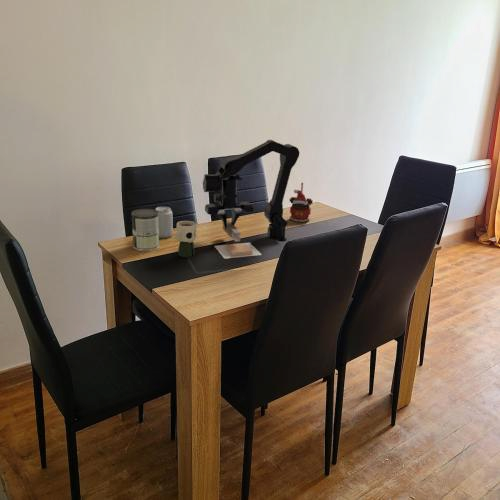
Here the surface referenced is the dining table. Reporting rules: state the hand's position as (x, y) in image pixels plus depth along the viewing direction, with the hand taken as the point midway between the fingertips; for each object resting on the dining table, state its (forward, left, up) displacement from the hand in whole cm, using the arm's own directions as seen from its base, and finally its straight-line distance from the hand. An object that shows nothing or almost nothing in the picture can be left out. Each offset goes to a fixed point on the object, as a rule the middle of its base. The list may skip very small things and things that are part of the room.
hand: (228, 228), depth 206 cm
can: (+24, -14, -6) cm, 29 cm away
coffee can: (+33, -3, -6) cm, 34 cm away
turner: (0, +4, -2) cm, 4 cm away
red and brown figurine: (-42, -21, -6) cm, 47 cm away
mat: (0, +12, -6) cm, 13 cm away
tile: (0, +9, -4) cm, 10 cm away
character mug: (+20, +11, -6) cm, 24 cm away
